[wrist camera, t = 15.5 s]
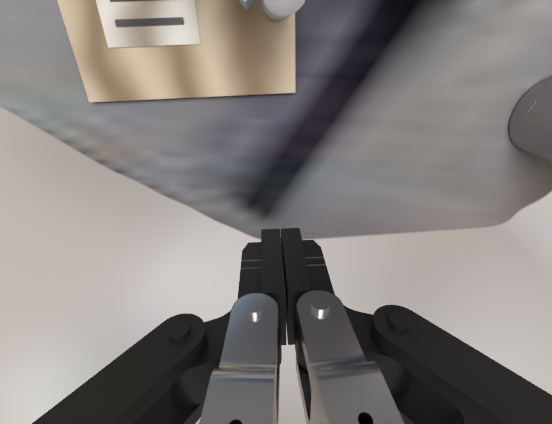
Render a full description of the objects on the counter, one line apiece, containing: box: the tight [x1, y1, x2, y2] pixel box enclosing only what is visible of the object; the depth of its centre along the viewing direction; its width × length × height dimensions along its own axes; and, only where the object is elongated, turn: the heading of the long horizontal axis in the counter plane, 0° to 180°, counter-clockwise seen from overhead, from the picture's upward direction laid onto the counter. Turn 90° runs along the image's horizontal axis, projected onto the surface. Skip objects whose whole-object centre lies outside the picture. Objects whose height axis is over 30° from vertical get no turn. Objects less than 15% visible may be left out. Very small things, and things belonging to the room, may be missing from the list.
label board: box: [57, 0, 295, 102], centre depth 27 cm, size 22×16×6 cm
